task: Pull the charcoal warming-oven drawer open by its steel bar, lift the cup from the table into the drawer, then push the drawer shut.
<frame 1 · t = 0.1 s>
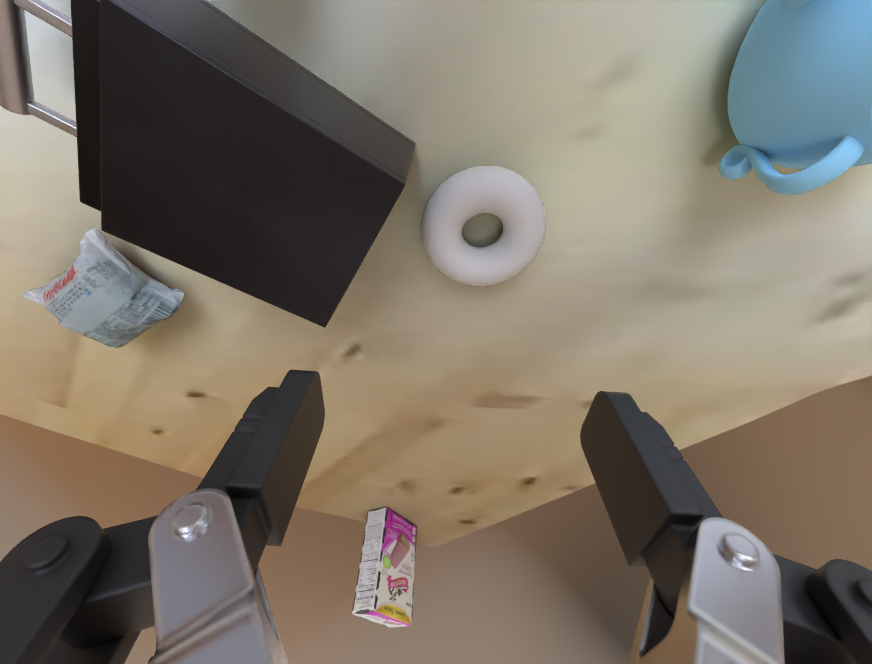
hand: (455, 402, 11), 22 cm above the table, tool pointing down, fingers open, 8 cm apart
candy bar box: (393, 517, 72), on the table
donut: (480, 221, 30), on the table
packaged food: (122, 280, 35), on the table
drawer: (194, 140, 23), point 4 cm above the table, slide at 0.5 cm
teapot: (849, 21, 21), on the table
cabinet: (292, 163, 27), on the table
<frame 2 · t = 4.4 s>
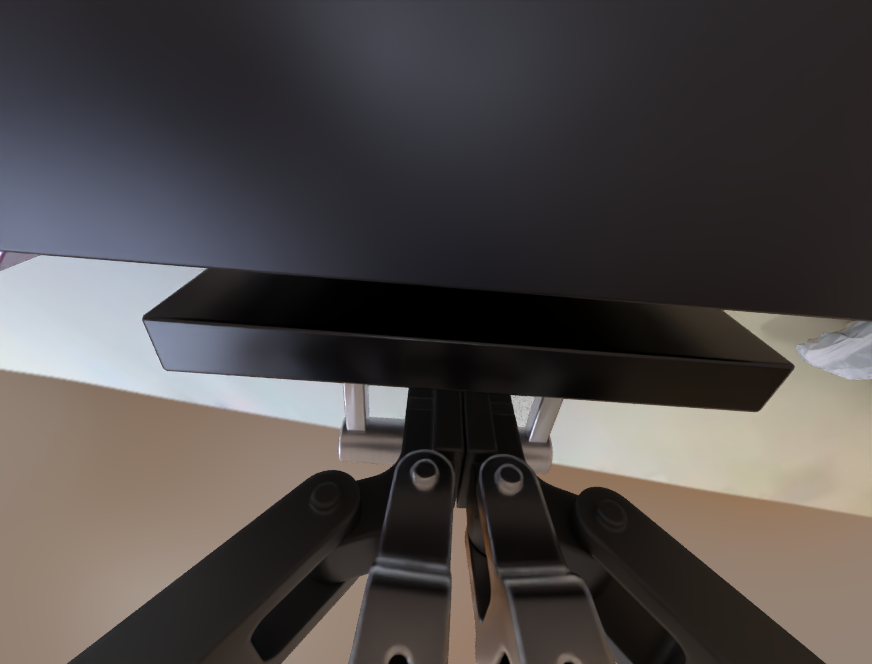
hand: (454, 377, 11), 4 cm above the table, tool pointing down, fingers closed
drawer: (485, 132, 7), point 4 cm above the table, slide at 1.4 cm
cup: (52, 125, 11), on the table
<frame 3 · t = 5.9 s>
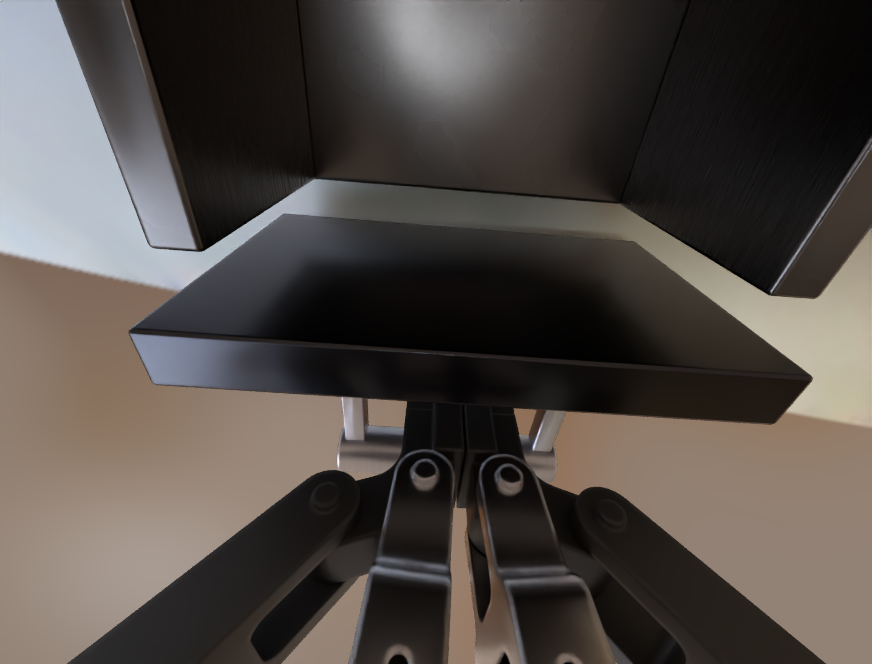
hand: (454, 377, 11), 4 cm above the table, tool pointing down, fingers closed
drawer: (486, 134, 7), point 4 cm above the table, slide at 8.2 cm, touching gripper
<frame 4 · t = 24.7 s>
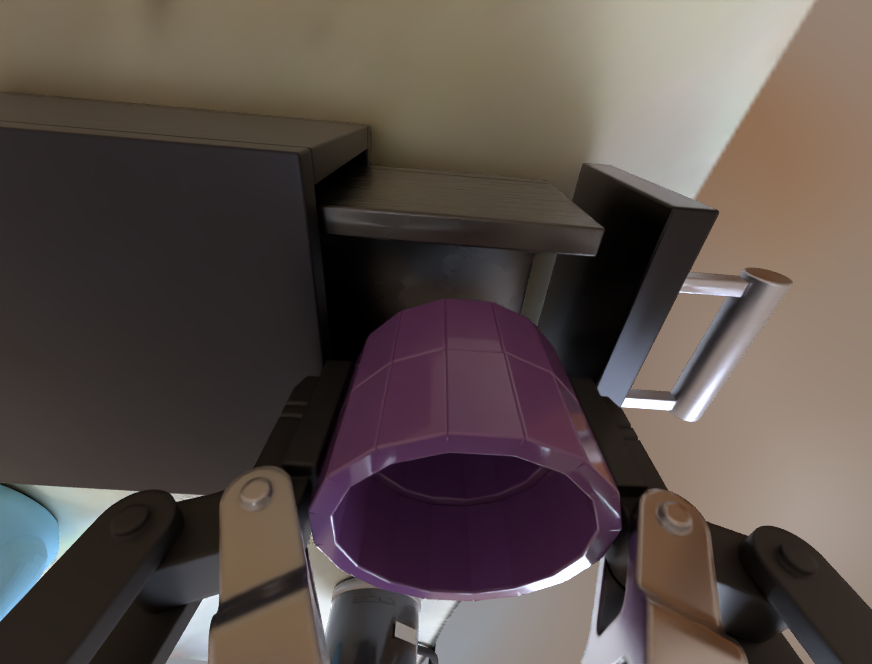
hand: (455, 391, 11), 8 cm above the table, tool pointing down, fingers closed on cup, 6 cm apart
drawer: (495, 323, 14), point 4 cm above the table, slide at 8.5 cm
teapot: (0, 512, 31), on the table
cabinet: (226, 257, 18), on the table
cup: (455, 376, 11), point 8 cm above the table, touching gripper
when the fingers open (10 cm above the table, at t = 29.3 s): cup drops 7 cm, resting on drawer.
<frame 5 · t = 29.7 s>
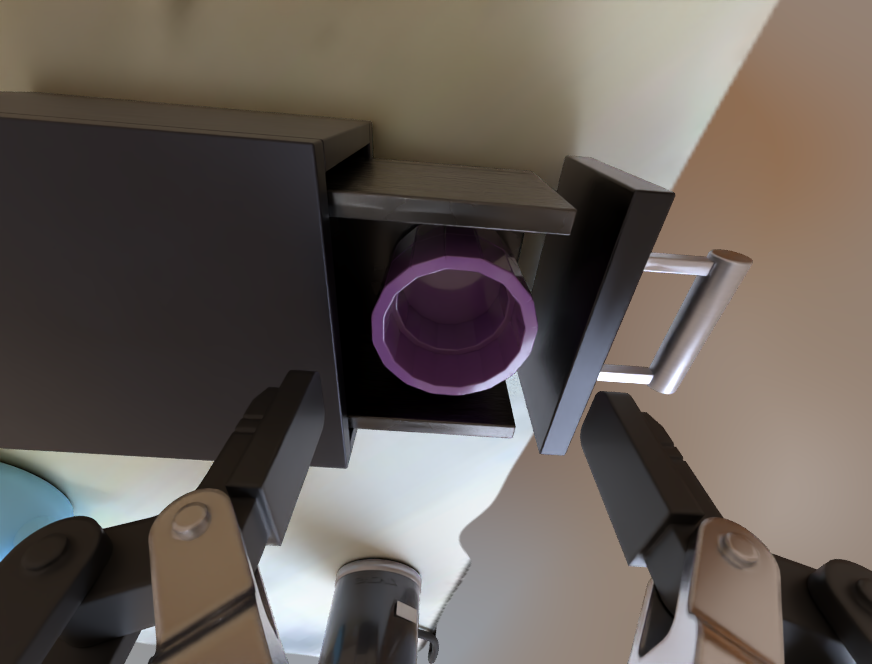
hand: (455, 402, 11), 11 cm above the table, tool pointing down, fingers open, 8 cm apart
drawer: (486, 303, 16), point 4 cm above the table, slide at 8.5 cm, touching cup
teapot: (17, 497, 33), on the table
cabinet: (237, 246, 19), on the table
cup: (451, 278, 18), point 2 cm above the table, touching drawer
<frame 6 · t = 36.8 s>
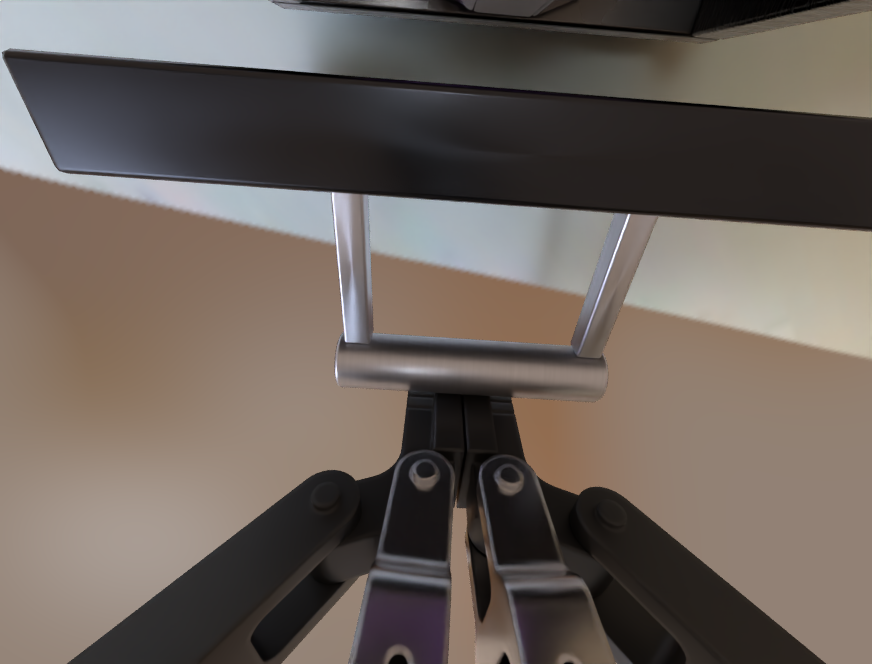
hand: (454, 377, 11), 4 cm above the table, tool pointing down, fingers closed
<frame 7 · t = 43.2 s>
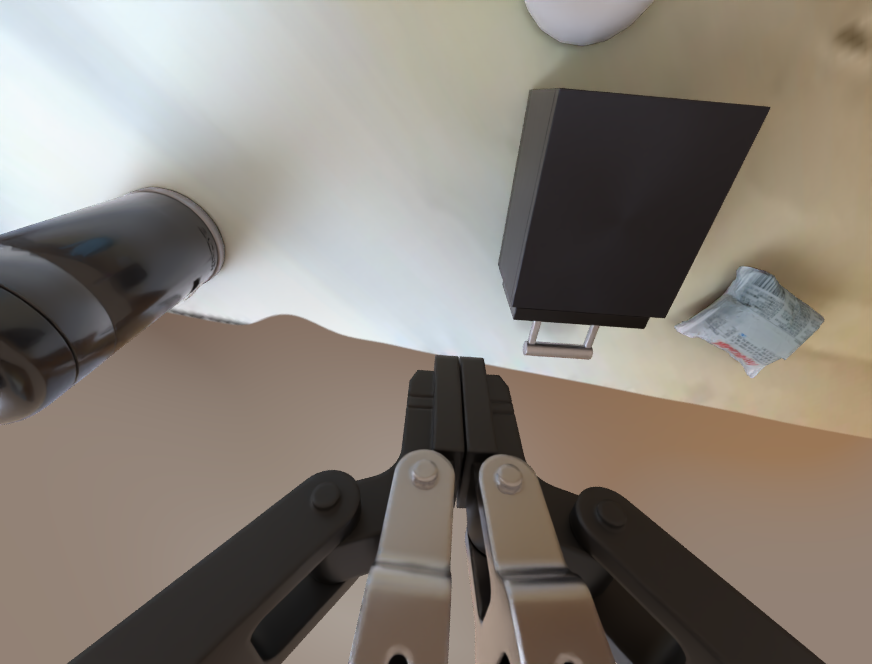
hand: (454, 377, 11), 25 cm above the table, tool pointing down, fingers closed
packaged food: (732, 314, 39), on the table
drawer: (580, 264, 31), point 4 cm above the table, slide at 0.5 cm, touching cup
cabinet: (581, 194, 32), on the table
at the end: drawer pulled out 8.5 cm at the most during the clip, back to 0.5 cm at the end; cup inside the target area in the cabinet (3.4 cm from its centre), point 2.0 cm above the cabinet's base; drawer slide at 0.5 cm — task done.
